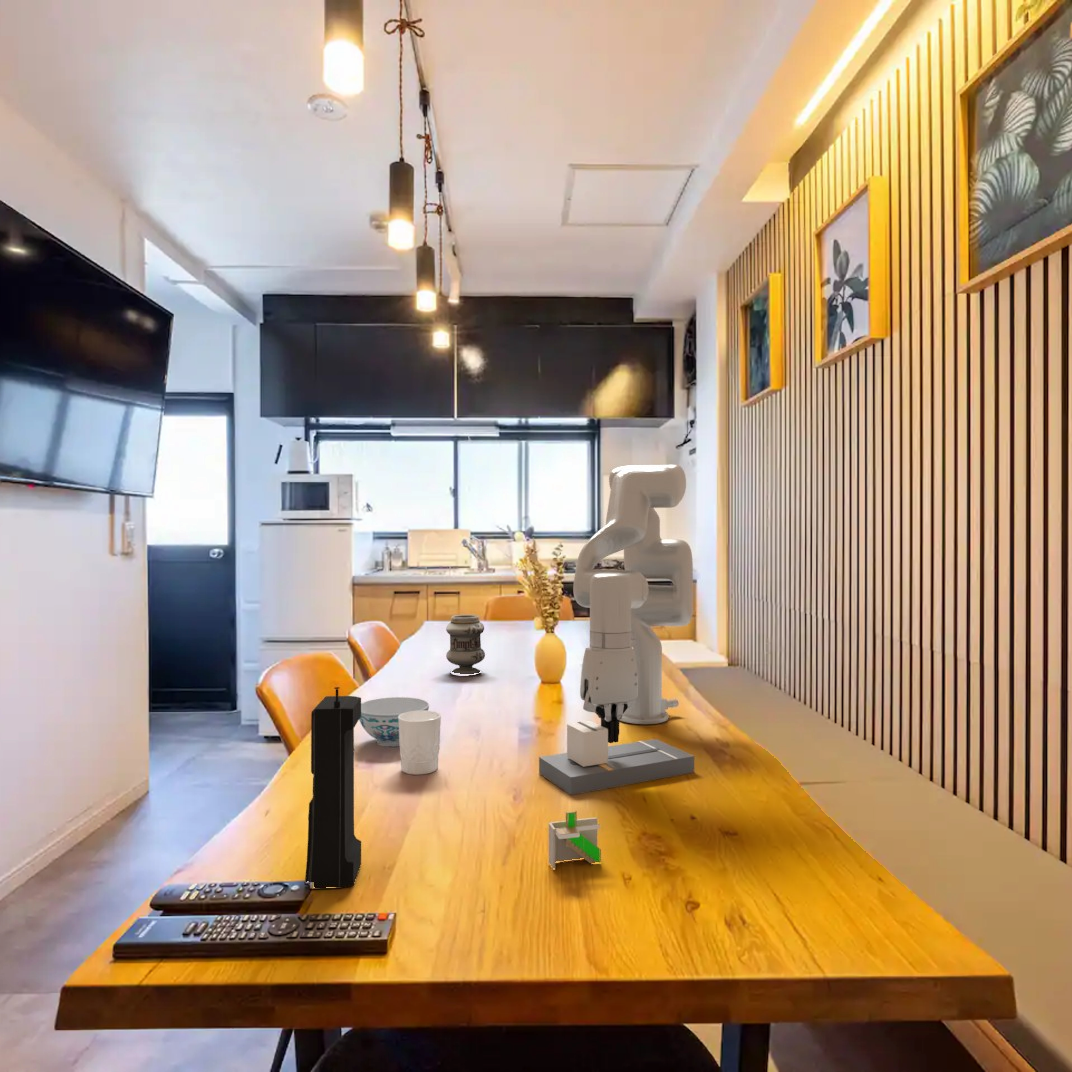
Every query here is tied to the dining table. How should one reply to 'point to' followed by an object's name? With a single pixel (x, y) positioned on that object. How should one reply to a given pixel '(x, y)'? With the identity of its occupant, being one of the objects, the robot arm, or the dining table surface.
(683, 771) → the board
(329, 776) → the portable radio
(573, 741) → the fader tab
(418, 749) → the white cup
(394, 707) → the chinaware
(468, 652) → the apothecary jar
